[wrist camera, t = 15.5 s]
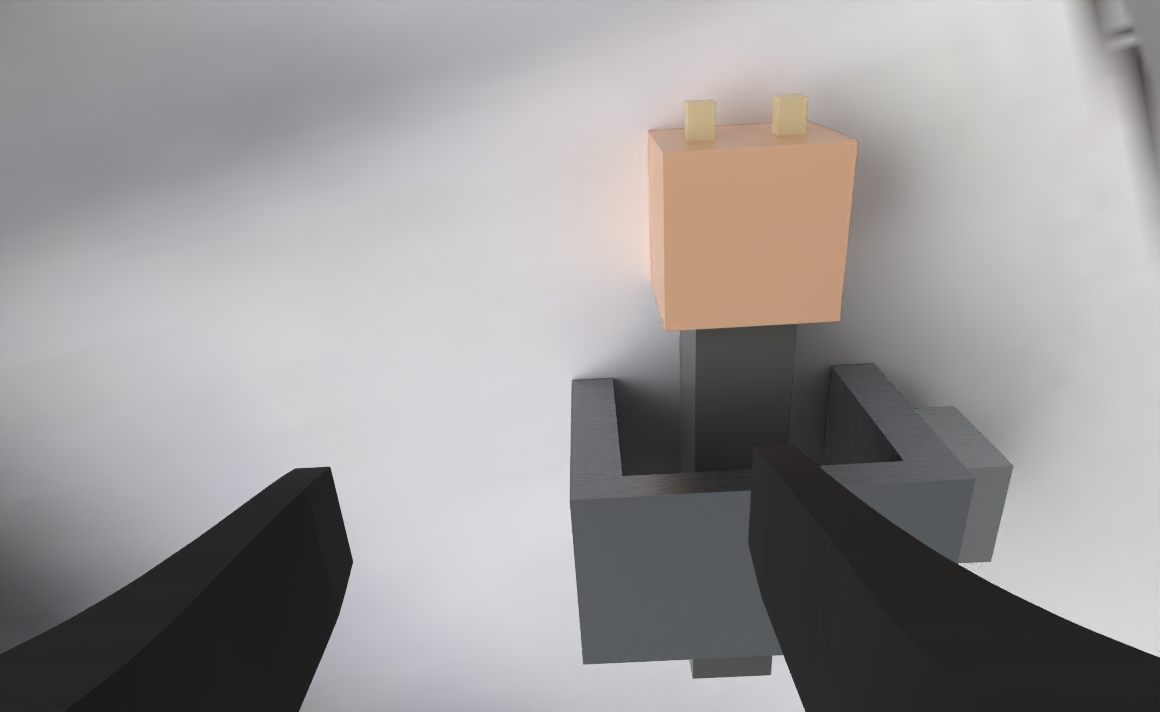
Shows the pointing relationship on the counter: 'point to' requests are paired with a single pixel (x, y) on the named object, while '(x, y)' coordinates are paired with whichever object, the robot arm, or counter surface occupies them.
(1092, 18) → the counter surface
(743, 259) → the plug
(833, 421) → the housing
